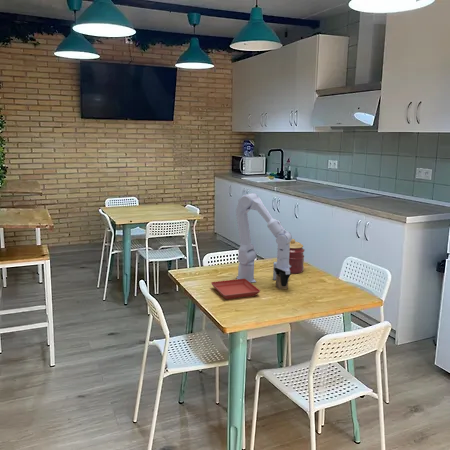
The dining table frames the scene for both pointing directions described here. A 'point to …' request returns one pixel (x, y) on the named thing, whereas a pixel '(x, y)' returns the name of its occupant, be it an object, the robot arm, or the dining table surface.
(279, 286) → the walnut block
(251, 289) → the plant saucer
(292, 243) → the canister
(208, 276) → the dining table surface
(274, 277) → the medicine box
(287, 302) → the dining table surface
